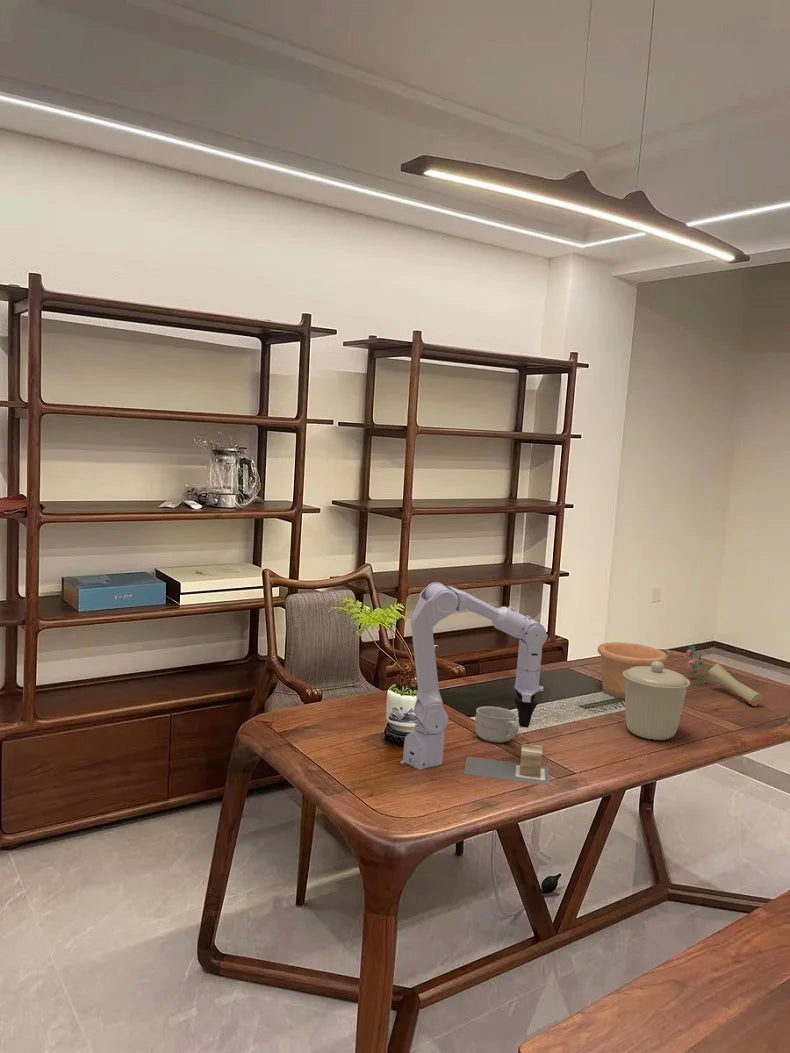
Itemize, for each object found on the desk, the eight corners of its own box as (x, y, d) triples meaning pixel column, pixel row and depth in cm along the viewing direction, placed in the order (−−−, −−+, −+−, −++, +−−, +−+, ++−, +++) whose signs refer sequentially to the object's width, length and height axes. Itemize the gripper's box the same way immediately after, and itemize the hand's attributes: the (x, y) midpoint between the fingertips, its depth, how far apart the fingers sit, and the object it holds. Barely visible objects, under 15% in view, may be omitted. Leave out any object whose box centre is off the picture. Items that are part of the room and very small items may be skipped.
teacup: (467, 734, 218) (469, 705, 217) (502, 731, 222) (505, 703, 221) (491, 754, 205) (493, 724, 204) (528, 751, 209) (530, 721, 208)
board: (463, 777, 189) (463, 773, 189) (466, 760, 200) (467, 755, 200) (549, 789, 186) (549, 784, 186) (548, 770, 197) (549, 766, 197)
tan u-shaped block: (540, 777, 189) (542, 753, 189) (519, 775, 190) (521, 750, 189) (539, 769, 194) (542, 745, 193) (519, 767, 195) (521, 743, 194)
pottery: (615, 704, 252) (619, 660, 251) (582, 683, 274) (586, 641, 272) (676, 703, 257) (680, 659, 256) (639, 682, 279) (644, 642, 277)
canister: (648, 749, 216) (656, 672, 213) (604, 725, 232) (610, 654, 230) (698, 742, 223) (706, 668, 221) (652, 720, 240) (659, 651, 237)
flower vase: (740, 728, 260) (668, 674, 291) (770, 715, 264) (696, 663, 294) (741, 698, 256) (668, 646, 286) (772, 686, 259) (696, 636, 289)
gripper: (545, 678, 191) (540, 733, 192) (544, 662, 205) (540, 714, 207) (515, 675, 192) (510, 730, 193) (516, 659, 206) (512, 710, 208)
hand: (524, 721), depth 200 cm, fingers open, 7 cm apart
